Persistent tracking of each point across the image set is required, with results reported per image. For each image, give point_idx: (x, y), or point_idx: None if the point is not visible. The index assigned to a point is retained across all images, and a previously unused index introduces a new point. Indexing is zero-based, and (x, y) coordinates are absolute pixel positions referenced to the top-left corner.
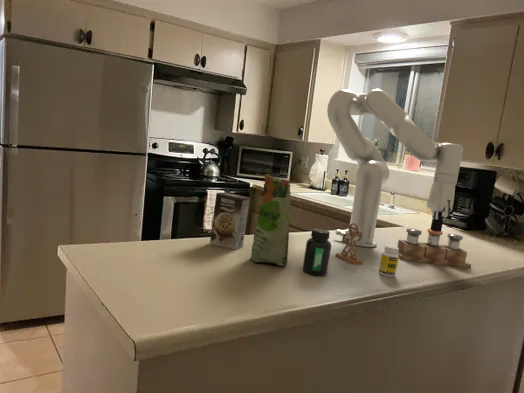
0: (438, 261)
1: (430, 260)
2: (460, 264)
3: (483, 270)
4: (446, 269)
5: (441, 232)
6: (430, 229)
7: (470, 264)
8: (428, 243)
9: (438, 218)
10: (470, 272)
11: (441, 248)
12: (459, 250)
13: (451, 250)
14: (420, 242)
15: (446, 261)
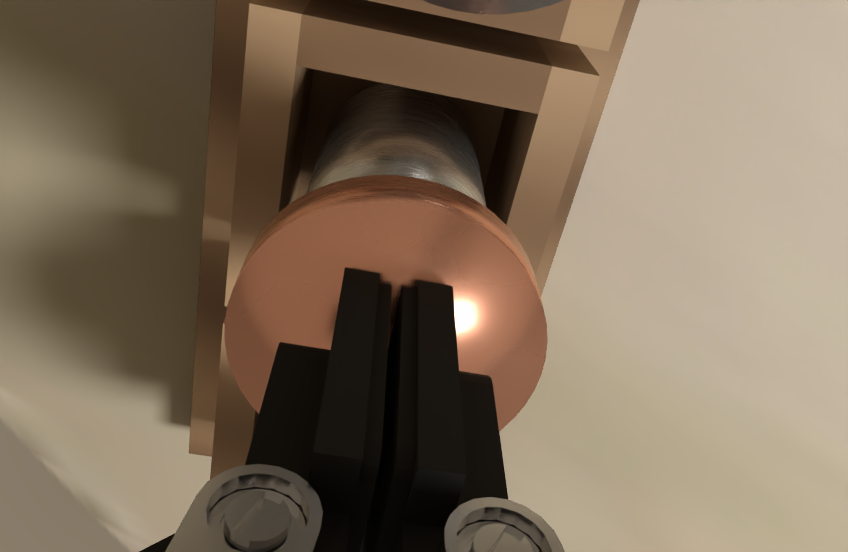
0: (211, 125)
1: (217, 16)
2: (196, 357)
3: (166, 504)
4: (5, 83)
5: (240, 387)
6: (458, 283)
7: (195, 450)
8: (382, 127)
9: (159, 544)
10: (20, 328)
11: (244, 249)
12: (241, 465)
13: (220, 362)
14: (563, 85)
15: (215, 230)
